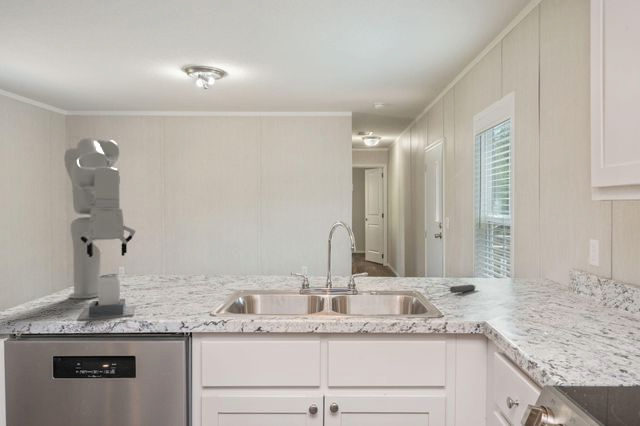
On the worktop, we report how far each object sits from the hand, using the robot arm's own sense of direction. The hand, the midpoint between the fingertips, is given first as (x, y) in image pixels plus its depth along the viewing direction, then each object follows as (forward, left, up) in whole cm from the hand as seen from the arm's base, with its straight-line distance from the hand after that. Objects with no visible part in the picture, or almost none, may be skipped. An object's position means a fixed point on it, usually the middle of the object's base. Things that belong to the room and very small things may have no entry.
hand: (107, 256), depth 142 cm
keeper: (0, 0, -19) cm, 19 cm away
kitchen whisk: (+19, +124, -20) cm, 127 cm away
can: (0, +1, -19) cm, 19 cm away
